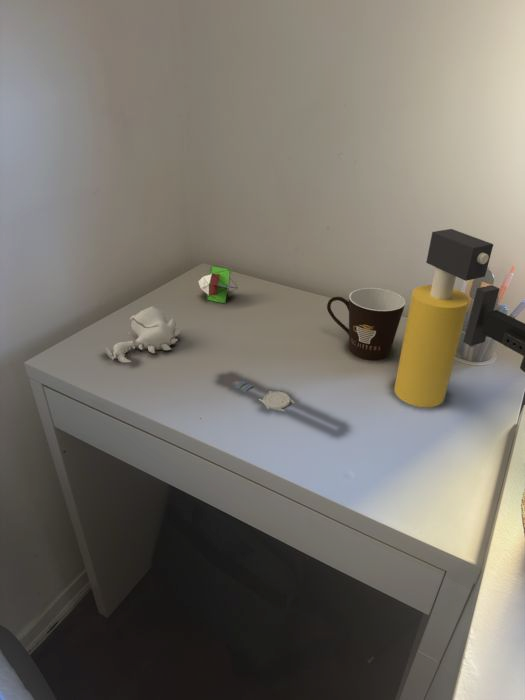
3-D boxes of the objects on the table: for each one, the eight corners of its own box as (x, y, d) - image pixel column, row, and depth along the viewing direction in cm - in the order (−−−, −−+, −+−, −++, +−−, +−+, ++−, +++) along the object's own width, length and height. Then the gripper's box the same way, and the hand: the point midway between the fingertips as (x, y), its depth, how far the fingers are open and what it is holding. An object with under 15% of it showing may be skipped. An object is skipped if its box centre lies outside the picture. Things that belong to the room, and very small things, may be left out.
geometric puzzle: (215, 277, 104) (202, 255, 97) (245, 283, 101) (234, 260, 94) (202, 307, 101) (189, 286, 94) (233, 313, 99) (221, 292, 92)
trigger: (477, 337, 62) (491, 284, 58) (484, 342, 61) (499, 288, 57) (463, 341, 61) (476, 288, 57) (470, 346, 60) (485, 291, 56)
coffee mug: (406, 358, 81) (417, 302, 76) (368, 373, 77) (377, 316, 72) (356, 329, 90) (363, 278, 84) (320, 342, 85) (324, 288, 80)
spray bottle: (419, 379, 76) (453, 223, 64) (462, 410, 70) (509, 243, 57) (383, 390, 73) (411, 230, 61) (424, 423, 67) (465, 251, 55)
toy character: (97, 347, 81) (160, 315, 87) (125, 384, 78) (188, 349, 84) (92, 326, 77) (159, 293, 82) (122, 365, 74) (189, 328, 79)
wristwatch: (231, 374, 76) (231, 369, 75) (348, 426, 66) (349, 420, 65) (213, 387, 73) (213, 381, 72) (332, 443, 63) (333, 437, 62)
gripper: (660, 503, 39) (441, 361, 57) (741, 453, 45) (517, 337, 63) (705, 429, 36) (455, 302, 54) (787, 384, 41) (535, 282, 59)
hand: (489, 321), depth 58 cm, fingers closed
